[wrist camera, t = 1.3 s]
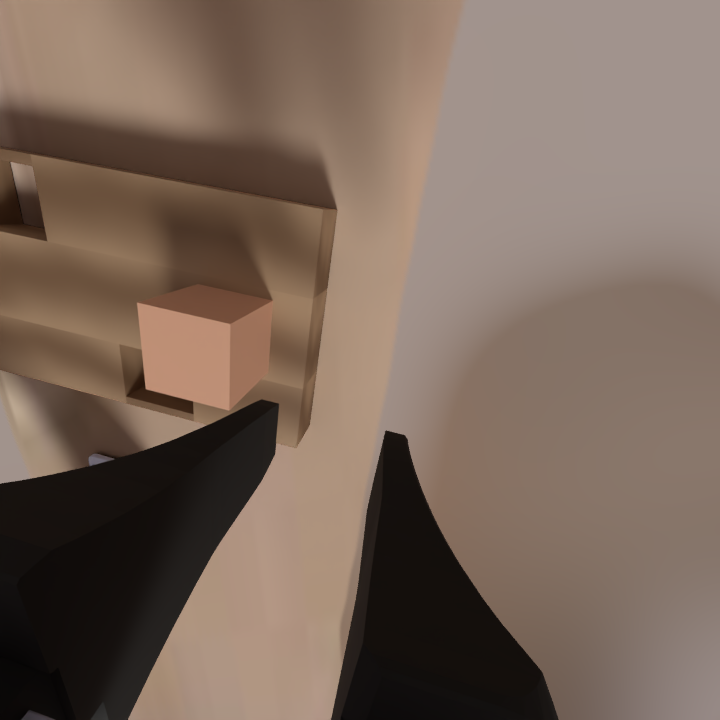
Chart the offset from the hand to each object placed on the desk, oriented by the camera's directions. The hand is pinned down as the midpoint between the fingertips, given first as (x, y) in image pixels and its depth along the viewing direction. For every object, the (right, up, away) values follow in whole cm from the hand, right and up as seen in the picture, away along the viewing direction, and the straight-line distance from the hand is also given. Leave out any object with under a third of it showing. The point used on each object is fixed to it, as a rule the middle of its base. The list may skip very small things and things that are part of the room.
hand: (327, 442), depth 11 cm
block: (-5, +4, +7) cm, 10 cm away
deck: (-14, +7, +10) cm, 19 cm away
